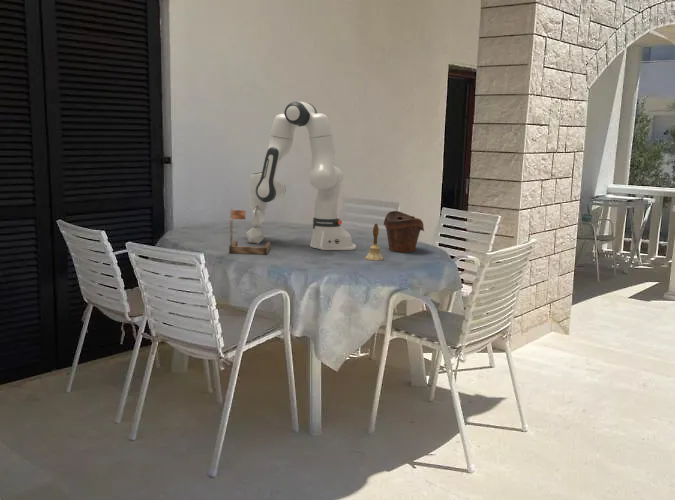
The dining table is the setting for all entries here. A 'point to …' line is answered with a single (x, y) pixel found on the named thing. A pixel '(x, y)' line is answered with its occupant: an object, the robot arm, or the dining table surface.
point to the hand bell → (375, 247)
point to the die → (255, 235)
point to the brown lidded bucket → (402, 231)
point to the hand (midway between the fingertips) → (257, 232)
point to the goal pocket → (234, 246)
